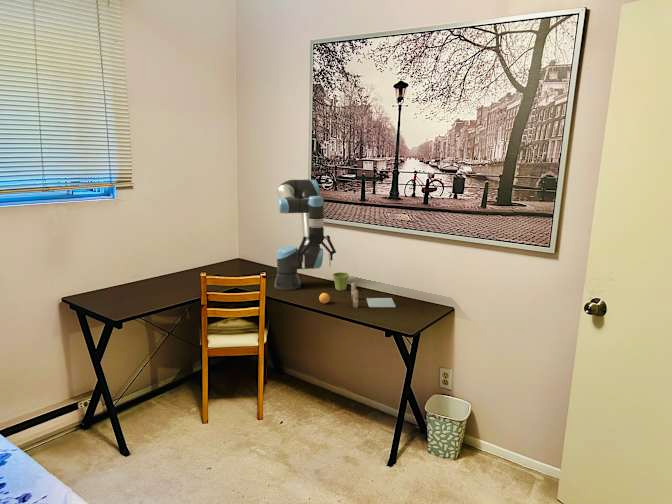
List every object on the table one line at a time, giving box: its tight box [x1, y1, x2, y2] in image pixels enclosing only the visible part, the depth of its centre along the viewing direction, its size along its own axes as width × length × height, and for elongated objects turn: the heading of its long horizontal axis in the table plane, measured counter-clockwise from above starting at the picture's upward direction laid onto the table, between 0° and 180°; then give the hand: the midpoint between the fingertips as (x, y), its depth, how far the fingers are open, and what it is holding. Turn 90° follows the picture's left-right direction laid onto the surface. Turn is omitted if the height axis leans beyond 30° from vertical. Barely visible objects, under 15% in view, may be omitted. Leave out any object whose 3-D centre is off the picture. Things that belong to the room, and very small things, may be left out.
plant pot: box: [332, 272, 350, 291], centre depth 286 cm, size 9×9×9 cm
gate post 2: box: [352, 289, 359, 309], centre depth 256 cm, size 3×3×9 cm
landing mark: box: [365, 297, 396, 308], centre depth 264 cm, size 14×14×1 cm
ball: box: [318, 292, 330, 304], centre depth 262 cm, size 6×6×6 cm
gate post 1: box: [350, 282, 357, 301], centre depth 269 cm, size 3×3×9 cm
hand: (316, 267), depth 257 cm, fingers open, 13 cm apart
